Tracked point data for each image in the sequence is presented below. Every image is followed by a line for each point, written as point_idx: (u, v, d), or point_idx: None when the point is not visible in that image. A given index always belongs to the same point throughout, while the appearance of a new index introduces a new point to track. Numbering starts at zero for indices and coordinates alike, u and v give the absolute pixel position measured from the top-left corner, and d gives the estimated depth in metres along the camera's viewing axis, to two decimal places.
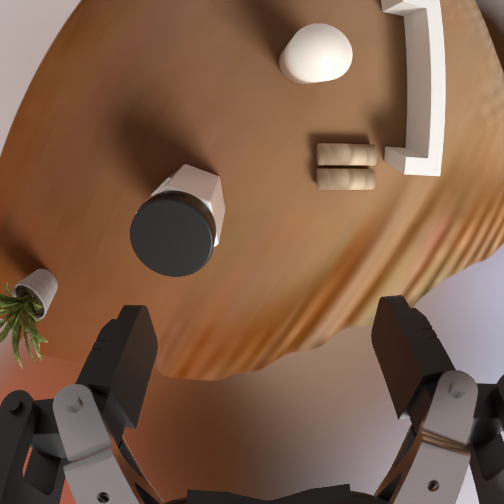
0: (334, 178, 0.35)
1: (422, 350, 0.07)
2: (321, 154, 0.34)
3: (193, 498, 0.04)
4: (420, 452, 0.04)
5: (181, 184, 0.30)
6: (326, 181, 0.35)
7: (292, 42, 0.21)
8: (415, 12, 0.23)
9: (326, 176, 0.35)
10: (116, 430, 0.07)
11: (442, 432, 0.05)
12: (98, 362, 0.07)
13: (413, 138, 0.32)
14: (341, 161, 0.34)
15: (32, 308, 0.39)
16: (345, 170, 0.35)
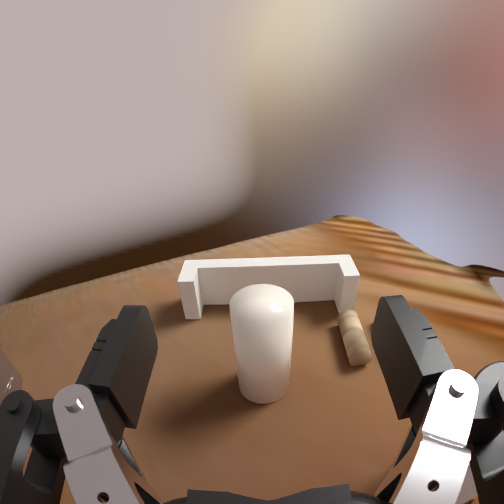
0: None
1: (422, 350, 0.07)
2: (356, 352, 0.31)
3: (193, 498, 0.04)
4: (420, 452, 0.04)
5: None
6: None
7: (252, 322, 0.23)
8: (201, 285, 0.41)
9: None
10: (116, 430, 0.07)
11: (442, 432, 0.05)
12: (98, 362, 0.07)
13: (324, 288, 0.41)
14: (359, 334, 0.33)
15: None
16: None
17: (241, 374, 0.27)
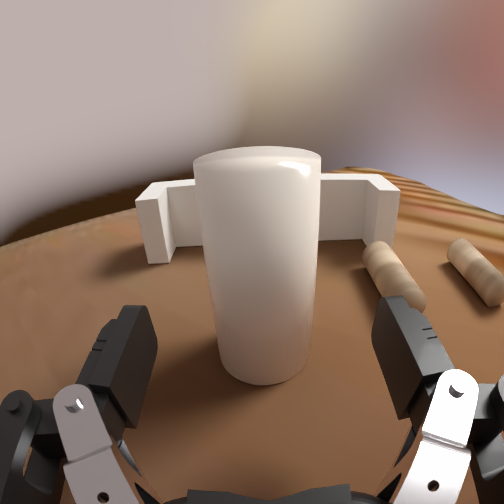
0: None
1: (422, 350, 0.07)
2: None
3: (193, 498, 0.04)
4: (420, 452, 0.04)
5: None
6: None
7: (236, 172, 0.10)
8: (172, 214, 0.28)
9: None
10: (116, 430, 0.07)
11: (443, 432, 0.05)
12: (98, 362, 0.07)
13: (348, 219, 0.28)
14: (389, 274, 0.20)
15: None
16: None
17: (220, 323, 0.15)
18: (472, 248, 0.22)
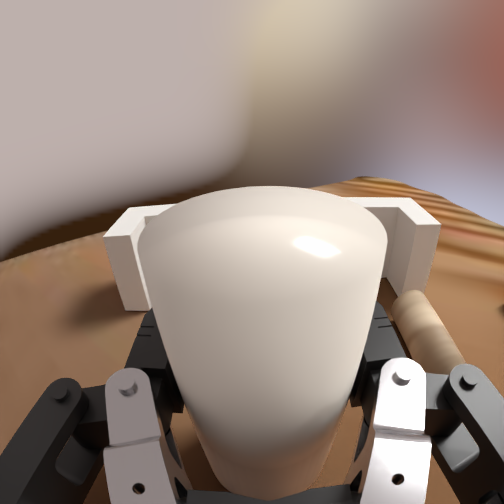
0: None
1: (370, 337, 0.08)
2: None
3: (193, 498, 0.04)
4: (375, 449, 0.05)
5: None
6: None
7: (215, 292, 0.04)
8: None
9: None
10: (167, 414, 0.08)
11: (396, 423, 0.05)
12: (149, 346, 0.08)
13: None
14: (429, 342, 0.14)
15: None
16: None
17: (206, 451, 0.09)
18: None
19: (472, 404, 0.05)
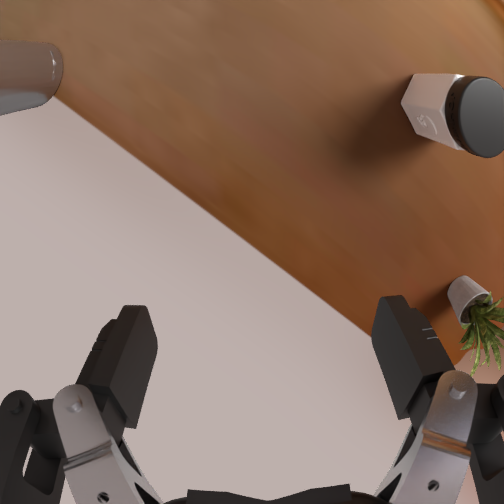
0: None
1: (422, 350, 0.07)
2: None
3: (193, 498, 0.04)
4: (420, 452, 0.04)
5: (434, 98, 0.24)
6: None
7: None
8: None
9: None
10: (116, 430, 0.07)
11: (443, 432, 0.05)
12: (98, 362, 0.07)
13: None
14: None
15: (483, 307, 0.38)
16: None
17: None
18: None
19: None
